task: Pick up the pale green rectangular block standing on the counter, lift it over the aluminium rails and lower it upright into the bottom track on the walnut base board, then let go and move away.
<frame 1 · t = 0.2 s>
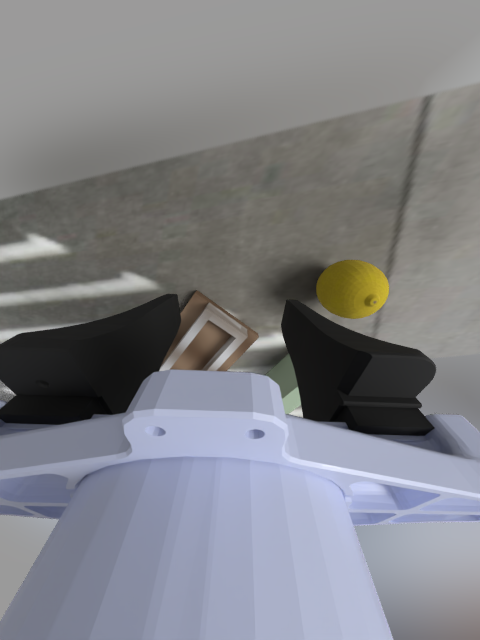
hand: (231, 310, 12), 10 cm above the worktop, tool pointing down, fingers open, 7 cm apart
track base: (196, 352, 26), on the worktop
lemon: (328, 280, 21), on the worktop
pale green rectangular block: (288, 362, 27), on the worktop
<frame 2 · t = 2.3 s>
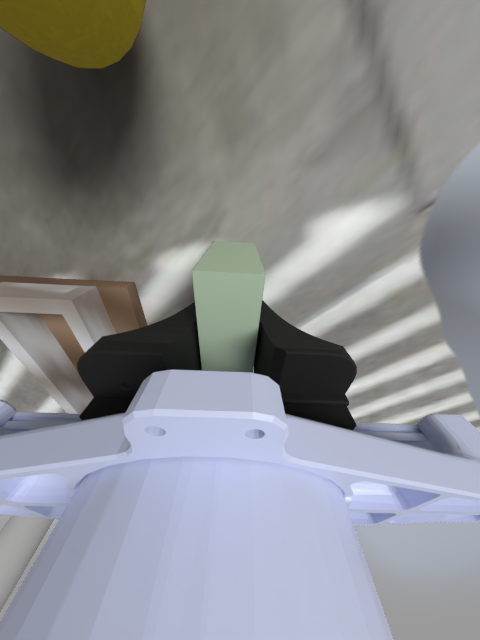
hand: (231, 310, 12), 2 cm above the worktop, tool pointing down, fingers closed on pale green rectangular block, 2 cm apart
bottle: (74, 456, 30), on the worktop
track base: (104, 359, 17), on the worktop
lemon: (110, 6, 7), on the worktop
pale green rectangular block: (232, 299, 13), on the worktop, touching gripper
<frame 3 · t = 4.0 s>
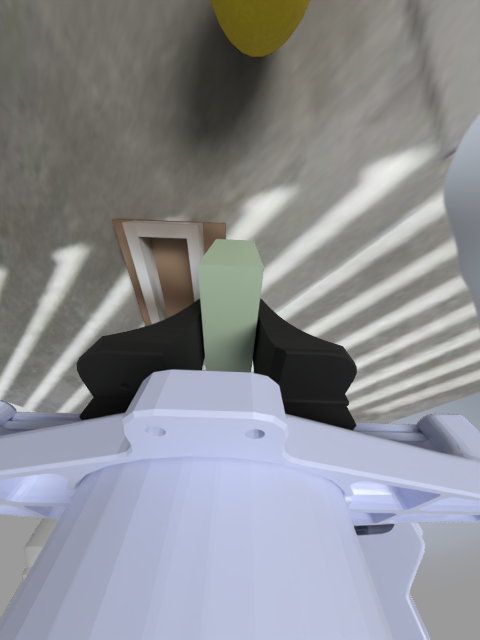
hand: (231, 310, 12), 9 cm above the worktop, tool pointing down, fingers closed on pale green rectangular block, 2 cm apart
bottle: (129, 407, 34), on the worktop
track base: (184, 298, 21), on the worktop
lemon: (256, 19, 11), on the worktop
pale green rectangular block: (233, 295, 14), point 6 cm above the worktop, touching gripper
when the fingers open (4 cm above the worktop, at t = 5.6 s): pale green rectangular block stays where it is, resting on track base.
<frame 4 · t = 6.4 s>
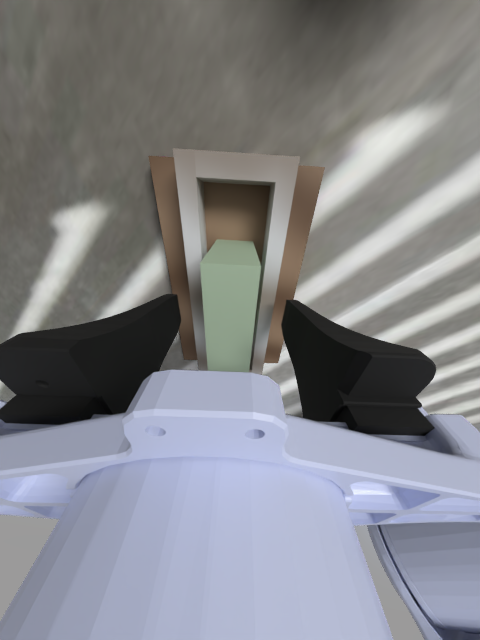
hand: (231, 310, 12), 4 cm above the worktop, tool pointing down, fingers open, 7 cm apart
track base: (233, 287, 15), on the worktop
pale green rectangular block: (233, 293, 14), point 1 cm above the worktop, touching track base
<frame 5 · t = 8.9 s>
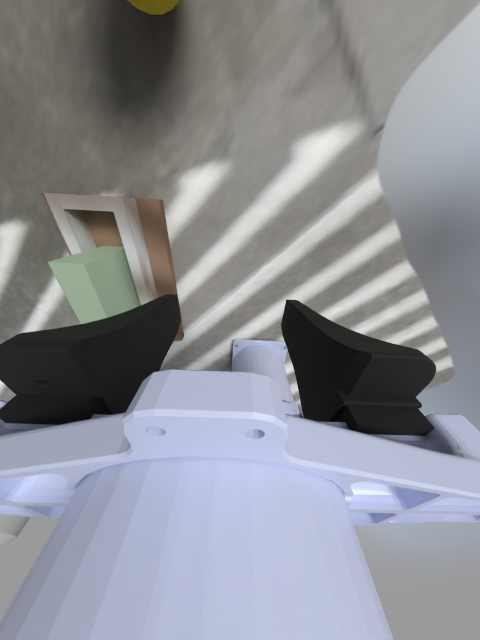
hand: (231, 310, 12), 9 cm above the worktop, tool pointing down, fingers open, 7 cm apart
bottle: (94, 397, 33), on the worktop
track base: (132, 280, 20), on the worktop
pale green rectangular block: (127, 284, 20), point 1 cm above the worktop, touching track base
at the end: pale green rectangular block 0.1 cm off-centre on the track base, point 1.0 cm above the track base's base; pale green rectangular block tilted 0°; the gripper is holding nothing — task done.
